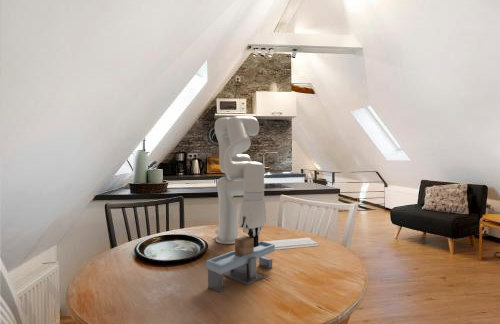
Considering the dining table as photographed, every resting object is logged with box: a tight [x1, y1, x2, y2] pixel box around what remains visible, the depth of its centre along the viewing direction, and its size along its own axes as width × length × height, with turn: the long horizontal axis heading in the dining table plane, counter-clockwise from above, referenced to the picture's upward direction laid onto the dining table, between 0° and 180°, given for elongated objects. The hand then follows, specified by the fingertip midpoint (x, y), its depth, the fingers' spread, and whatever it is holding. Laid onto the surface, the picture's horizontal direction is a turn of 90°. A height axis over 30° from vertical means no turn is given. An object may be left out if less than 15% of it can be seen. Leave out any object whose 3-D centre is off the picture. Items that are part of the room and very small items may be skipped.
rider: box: [234, 235, 254, 257], centre depth 111 cm, size 4×5×6 cm
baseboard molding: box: [263, 237, 320, 251], centre depth 146 cm, size 31×3×12 cm
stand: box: [207, 255, 273, 293], centre depth 111 cm, size 12×28×8 cm, turn 138°
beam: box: [205, 240, 276, 274], centre depth 111 cm, size 8×28×3 cm, turn 138°
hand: (253, 246), depth 114 cm, fingers closed
